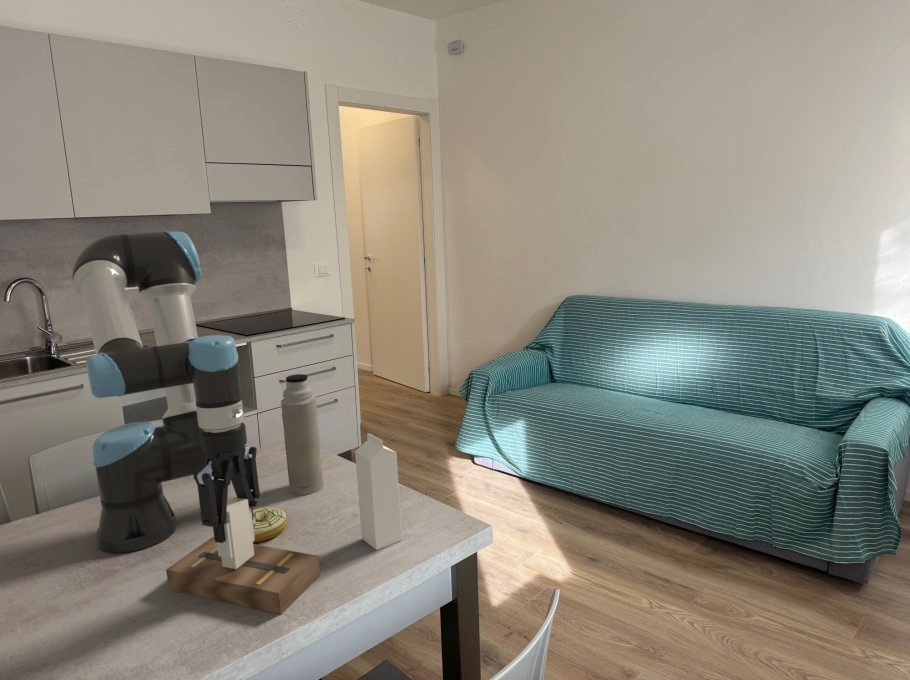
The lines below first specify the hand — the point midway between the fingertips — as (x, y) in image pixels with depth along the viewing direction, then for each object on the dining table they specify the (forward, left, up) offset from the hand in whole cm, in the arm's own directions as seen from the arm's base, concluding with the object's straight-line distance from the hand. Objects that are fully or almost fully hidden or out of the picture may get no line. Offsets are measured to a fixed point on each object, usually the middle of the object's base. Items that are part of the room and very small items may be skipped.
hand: (237, 547), depth 116 cm
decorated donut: (-8, +17, -7) cm, 20 cm away
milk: (+18, +21, -7) cm, 28 cm away
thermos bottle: (-11, +38, -7) cm, 40 cm away
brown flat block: (+1, 0, -7) cm, 7 cm away
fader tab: (0, 0, -3) cm, 3 cm away
